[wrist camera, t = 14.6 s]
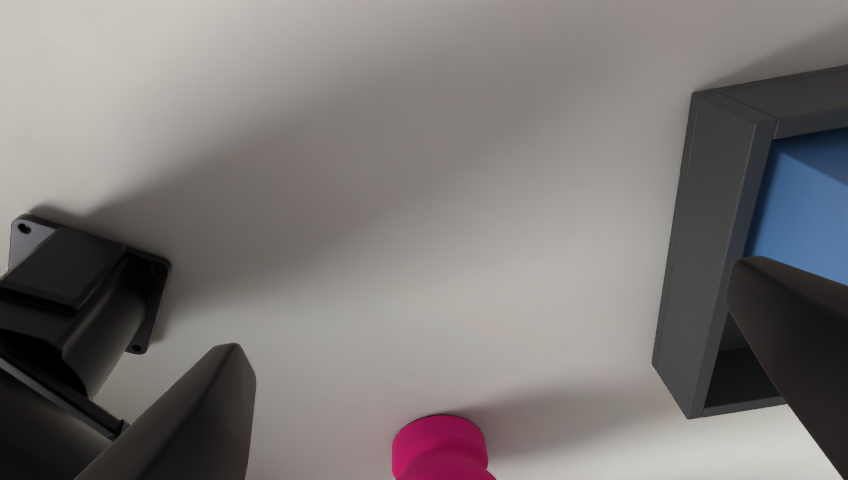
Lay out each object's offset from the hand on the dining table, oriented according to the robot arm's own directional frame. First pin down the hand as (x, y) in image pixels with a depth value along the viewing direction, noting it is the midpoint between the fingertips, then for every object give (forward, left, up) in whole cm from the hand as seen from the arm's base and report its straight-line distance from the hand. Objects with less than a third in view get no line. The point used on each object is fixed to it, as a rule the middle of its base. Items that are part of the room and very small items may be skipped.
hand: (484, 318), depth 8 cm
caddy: (+1, -18, -13) cm, 23 cm away
